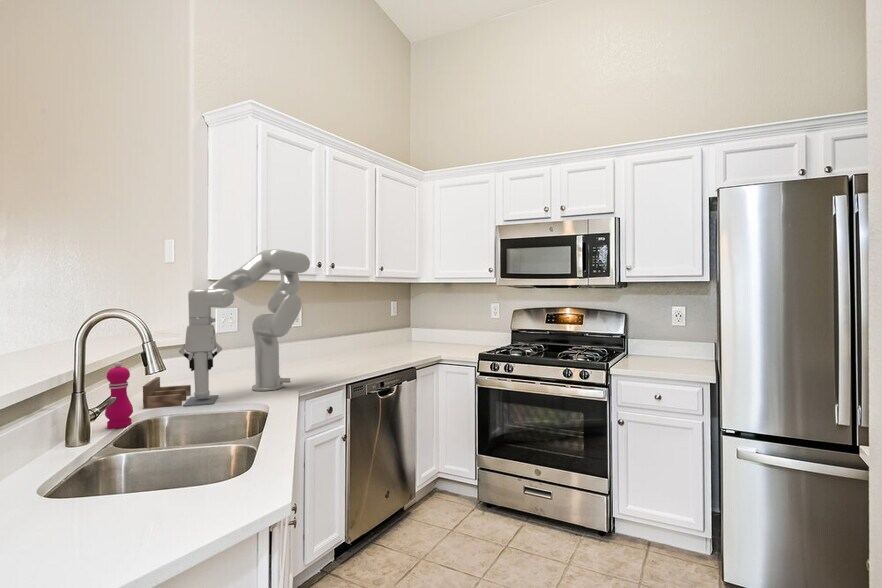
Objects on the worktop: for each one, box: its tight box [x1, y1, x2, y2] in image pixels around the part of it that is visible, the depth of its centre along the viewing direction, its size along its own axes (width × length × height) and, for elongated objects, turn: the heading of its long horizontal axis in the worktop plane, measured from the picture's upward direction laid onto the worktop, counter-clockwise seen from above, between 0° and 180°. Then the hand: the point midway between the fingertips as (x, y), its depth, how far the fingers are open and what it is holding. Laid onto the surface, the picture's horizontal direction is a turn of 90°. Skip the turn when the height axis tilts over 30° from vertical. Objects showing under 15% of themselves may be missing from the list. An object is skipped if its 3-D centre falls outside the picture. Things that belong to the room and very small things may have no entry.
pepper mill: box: [104, 361, 134, 430], centre depth 146 cm, size 7×7×20 cm
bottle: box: [193, 352, 210, 398], centre depth 177 cm, size 5×5×25 cm
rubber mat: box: [182, 394, 220, 408], centre depth 177 cm, size 10×14×1 cm
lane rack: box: [142, 376, 192, 410], centre depth 178 cm, size 12×19×8 cm, turn 18°
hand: (201, 369), depth 177 cm, fingers closed on bottle, 5 cm apart
